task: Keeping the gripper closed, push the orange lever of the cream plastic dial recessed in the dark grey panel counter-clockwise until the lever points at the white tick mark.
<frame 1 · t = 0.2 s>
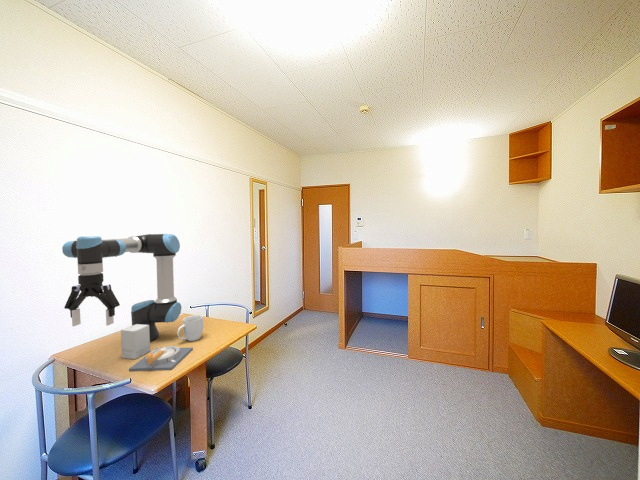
hand: (93, 324, 100), 27 cm above the table, fingers open, 13 cm apart
dial: (159, 353, 121), point 5 cm above the table, hinge at 0.0°
mug: (192, 339, 148), on the table
supplement box: (136, 354, 130), on the table
panel: (163, 359, 125), on the table
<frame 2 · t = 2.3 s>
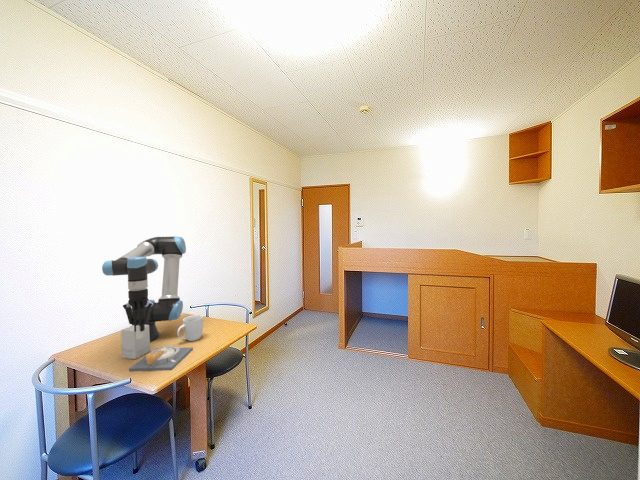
hand: (139, 337, 116), 15 cm above the table, fingers closed
nothing on the table moved.
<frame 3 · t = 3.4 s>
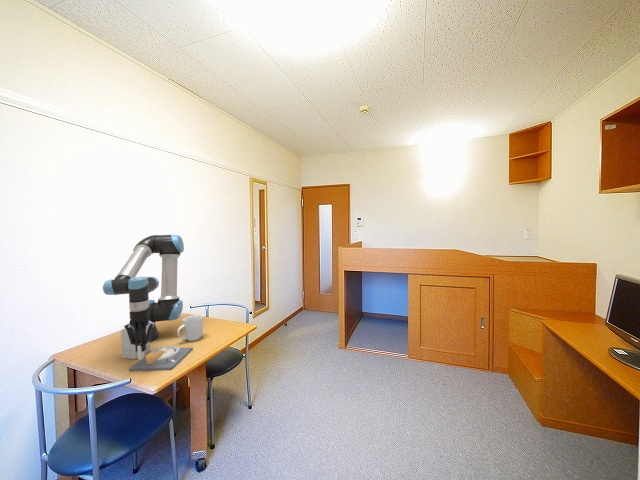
hand: (141, 357, 117), 5 cm above the table, fingers closed
nothing on the table moved.
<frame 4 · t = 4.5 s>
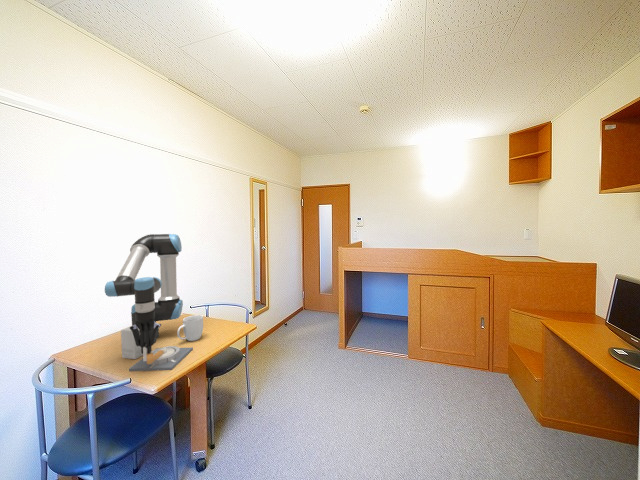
hand: (146, 359, 115), 5 cm above the table, fingers closed
dial: (159, 353, 121), point 5 cm above the table, hinge at 0.5°, touching gripper
everything else where it was.
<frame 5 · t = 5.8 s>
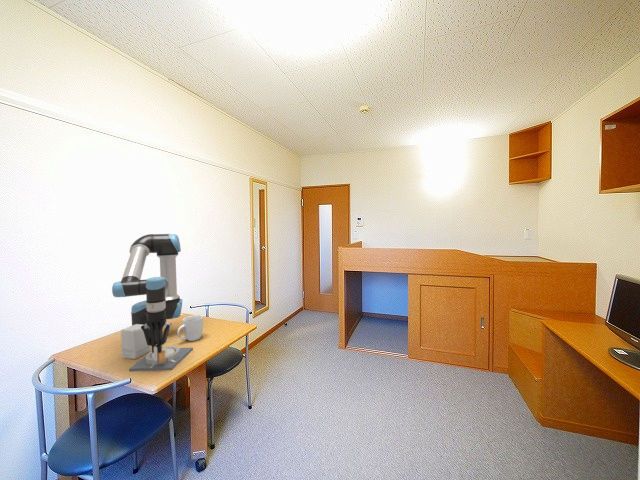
hand: (157, 358, 116), 5 cm above the table, fingers closed
dial: (162, 352, 122), point 5 cm above the table, hinge at 28.9°, touching gripper
everything else where it was.
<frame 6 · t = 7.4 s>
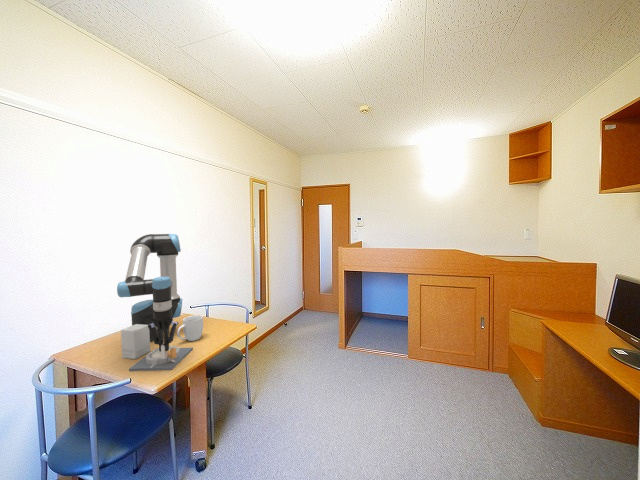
hand: (164, 357, 117), 5 cm above the table, fingers closed
dial: (166, 351, 123), point 5 cm above the table, hinge at 56.7°
everything else where it was.
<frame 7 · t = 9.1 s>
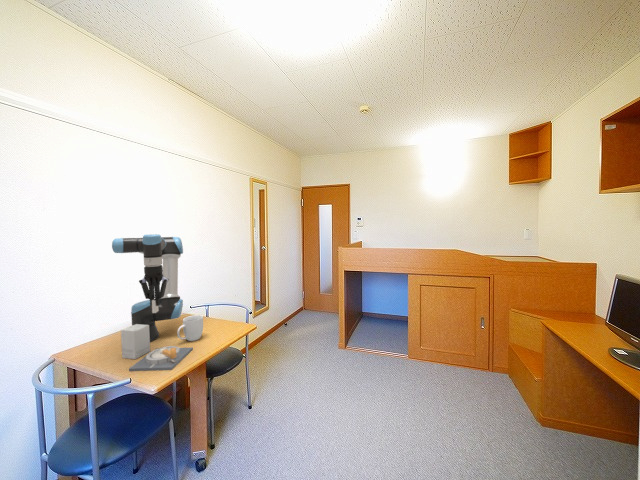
hand: (155, 312, 121), 26 cm above the table, fingers closed
nothing on the table moved.
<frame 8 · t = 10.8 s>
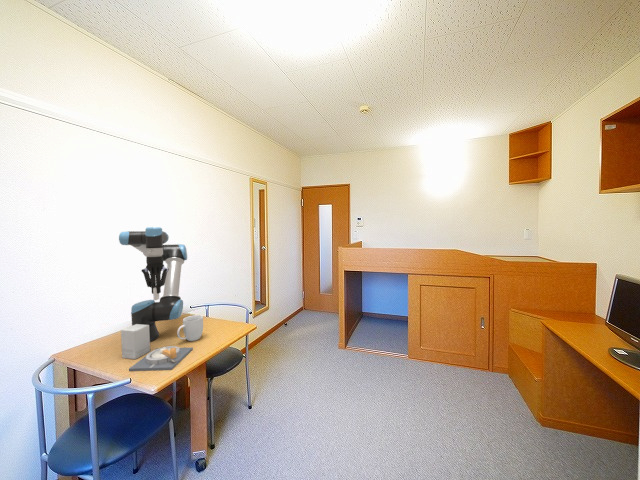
hand: (156, 299, 131), 29 cm above the table, fingers closed
nothing on the table moved.
at the end: dial at +57° (first picture: +0°) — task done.
